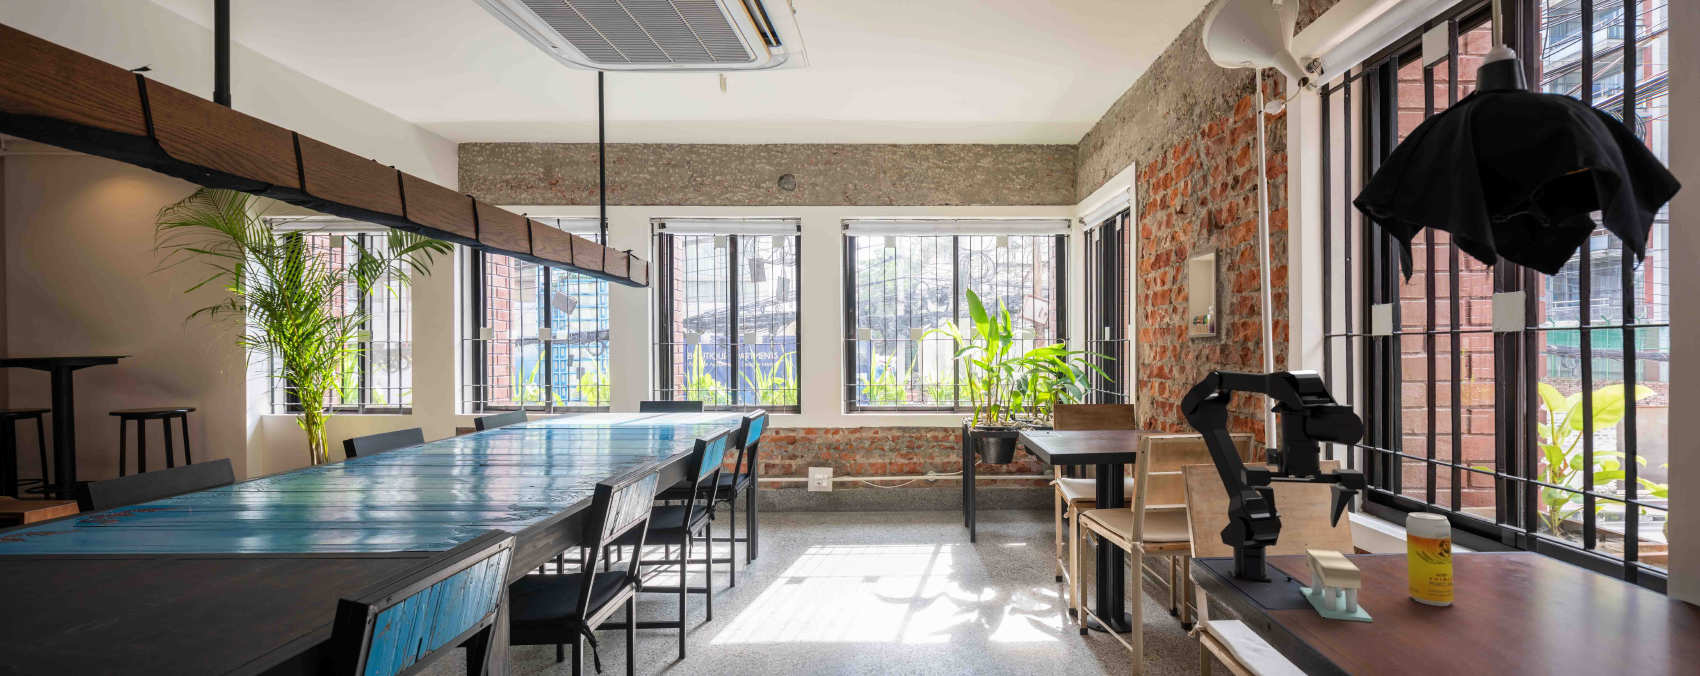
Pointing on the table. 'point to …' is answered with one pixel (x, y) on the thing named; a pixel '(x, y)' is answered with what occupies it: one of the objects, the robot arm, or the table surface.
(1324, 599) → the peg stand
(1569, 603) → the table surface
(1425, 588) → the beer can
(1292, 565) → the table surface
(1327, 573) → the board
